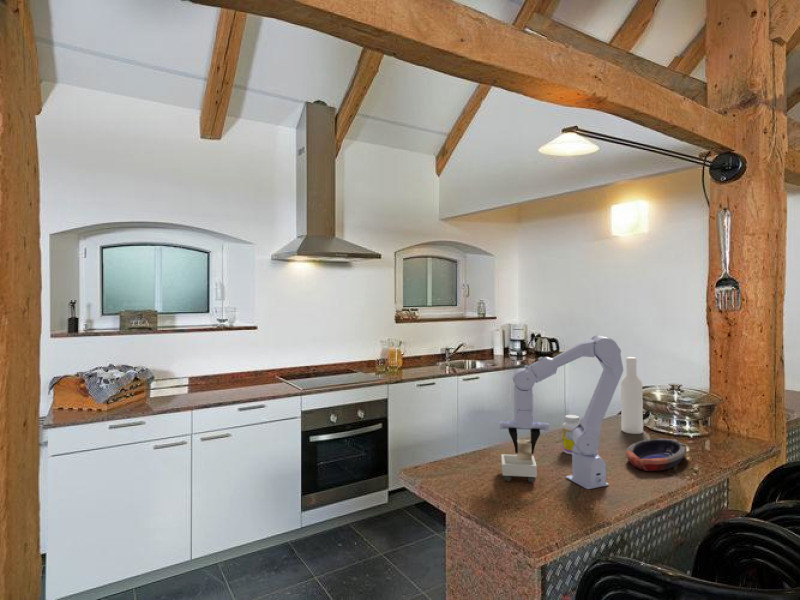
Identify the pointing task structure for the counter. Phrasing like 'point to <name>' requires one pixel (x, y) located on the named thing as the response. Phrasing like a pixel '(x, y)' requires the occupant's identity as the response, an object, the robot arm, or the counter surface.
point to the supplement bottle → (569, 432)
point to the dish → (656, 454)
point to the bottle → (631, 400)
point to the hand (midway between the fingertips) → (524, 452)
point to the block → (524, 449)
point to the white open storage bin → (518, 467)
